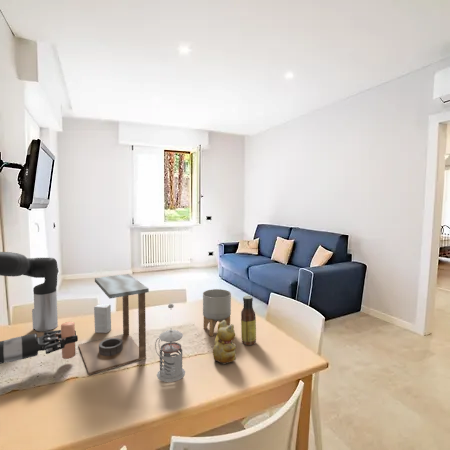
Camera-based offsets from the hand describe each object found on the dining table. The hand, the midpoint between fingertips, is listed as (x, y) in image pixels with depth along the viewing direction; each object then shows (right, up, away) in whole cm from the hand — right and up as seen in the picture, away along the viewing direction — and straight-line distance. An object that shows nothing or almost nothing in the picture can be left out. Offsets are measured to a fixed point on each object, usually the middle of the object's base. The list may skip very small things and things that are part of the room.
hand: (76, 335), depth 111 cm
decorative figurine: (+55, -11, +2) cm, 56 cm away
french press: (+36, -11, -6) cm, 38 cm away
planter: (+51, -8, +28) cm, 59 cm away
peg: (-2, -7, -1) cm, 8 cm away
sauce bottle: (+65, -9, +17) cm, 68 cm away
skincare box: (-1, -8, +26) cm, 28 cm away
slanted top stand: (+10, -9, +7) cm, 16 cm away
